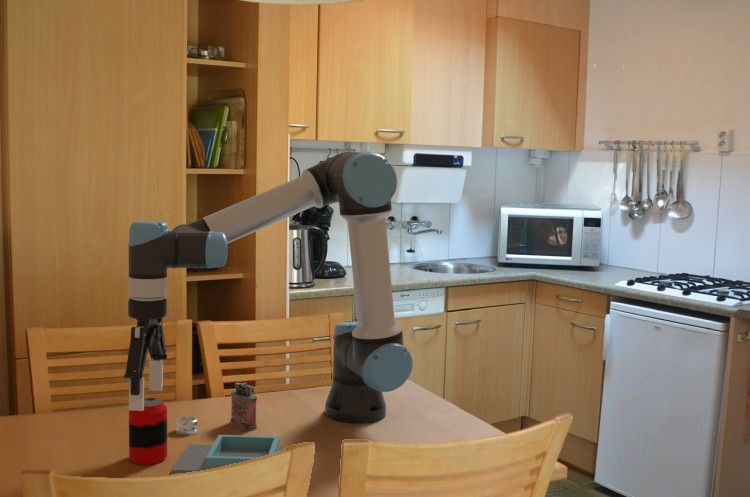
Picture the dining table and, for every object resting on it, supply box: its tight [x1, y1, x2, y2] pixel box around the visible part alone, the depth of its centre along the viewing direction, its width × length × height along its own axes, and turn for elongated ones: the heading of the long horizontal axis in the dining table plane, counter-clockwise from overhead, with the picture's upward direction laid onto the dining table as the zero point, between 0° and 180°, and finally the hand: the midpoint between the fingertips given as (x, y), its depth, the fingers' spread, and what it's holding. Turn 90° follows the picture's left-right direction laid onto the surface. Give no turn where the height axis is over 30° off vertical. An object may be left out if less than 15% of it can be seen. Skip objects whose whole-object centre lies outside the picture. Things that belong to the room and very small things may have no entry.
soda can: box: [128, 397, 168, 466], centre depth 163 cm, size 8×8×12 cm
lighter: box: [230, 382, 258, 431], centre depth 185 cm, size 8×3×10 cm, turn 47°
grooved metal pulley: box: [175, 415, 200, 436], centre depth 180 cm, size 5×3×5 cm
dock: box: [171, 434, 283, 475], centre depth 162 cm, size 20×14×4 cm
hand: (146, 399), depth 162 cm, fingers open, 13 cm apart
